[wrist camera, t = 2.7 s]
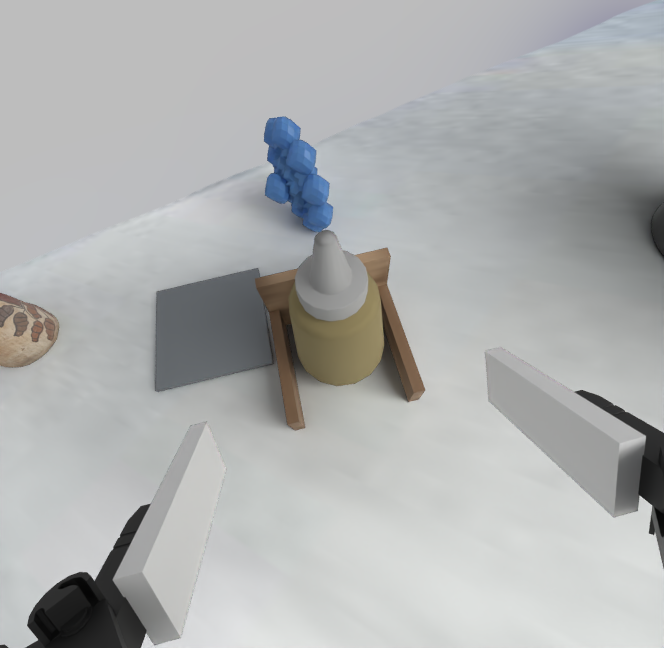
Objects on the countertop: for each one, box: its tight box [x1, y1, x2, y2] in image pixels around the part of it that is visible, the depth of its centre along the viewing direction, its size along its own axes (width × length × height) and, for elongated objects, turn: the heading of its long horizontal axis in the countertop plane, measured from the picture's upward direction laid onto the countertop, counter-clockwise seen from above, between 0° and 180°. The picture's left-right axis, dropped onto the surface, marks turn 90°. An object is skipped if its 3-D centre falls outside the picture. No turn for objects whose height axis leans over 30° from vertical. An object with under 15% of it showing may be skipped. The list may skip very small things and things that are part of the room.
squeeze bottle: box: [288, 230, 384, 386], centre depth 25 cm, size 8×8×18 cm
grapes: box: [264, 117, 333, 232], centre depth 36 cm, size 12×7×12 cm, turn 32°
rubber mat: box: [155, 268, 273, 392], centre depth 36 cm, size 12×12×1 cm
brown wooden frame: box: [255, 248, 425, 430], centre depth 30 cm, size 12×12×8 cm
